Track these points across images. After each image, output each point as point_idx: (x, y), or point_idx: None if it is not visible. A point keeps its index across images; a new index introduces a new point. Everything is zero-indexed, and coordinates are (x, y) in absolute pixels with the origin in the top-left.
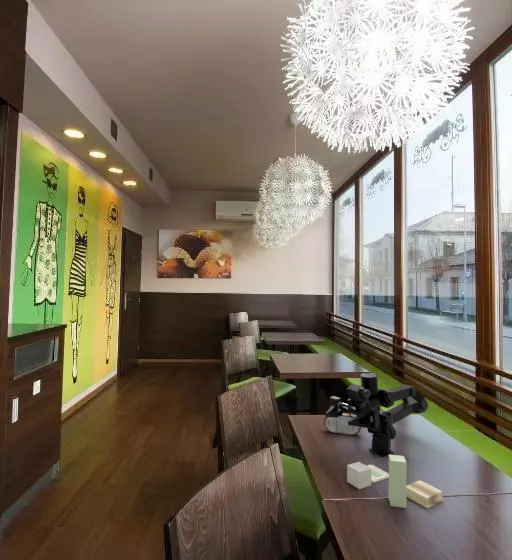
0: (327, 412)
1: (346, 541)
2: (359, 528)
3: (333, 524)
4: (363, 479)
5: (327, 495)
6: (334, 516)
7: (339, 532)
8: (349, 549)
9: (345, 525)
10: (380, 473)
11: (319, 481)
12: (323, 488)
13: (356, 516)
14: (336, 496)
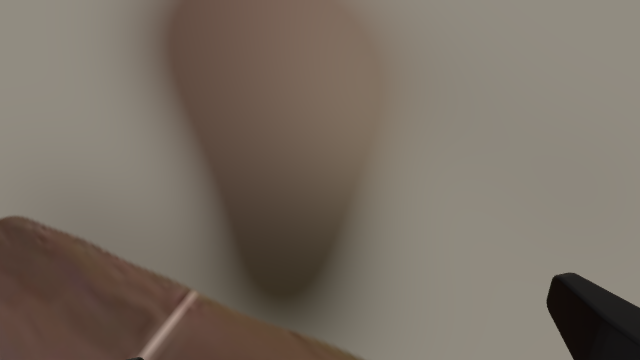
0: (592, 294)
1: (21, 236)
2: (7, 297)
3: (87, 245)
4: None
5: (204, 316)
6: (105, 267)
7: (54, 240)
8: (2, 227)
9: (53, 270)
10: None
11: (311, 351)
12: (253, 332)
13: (41, 329)
14: (174, 345)
